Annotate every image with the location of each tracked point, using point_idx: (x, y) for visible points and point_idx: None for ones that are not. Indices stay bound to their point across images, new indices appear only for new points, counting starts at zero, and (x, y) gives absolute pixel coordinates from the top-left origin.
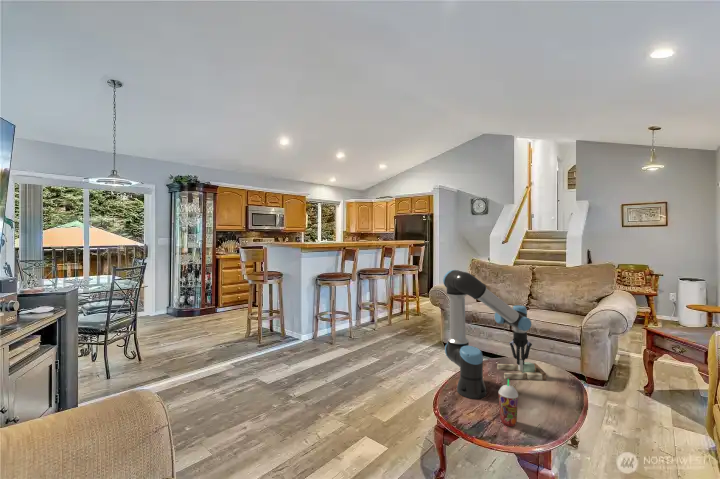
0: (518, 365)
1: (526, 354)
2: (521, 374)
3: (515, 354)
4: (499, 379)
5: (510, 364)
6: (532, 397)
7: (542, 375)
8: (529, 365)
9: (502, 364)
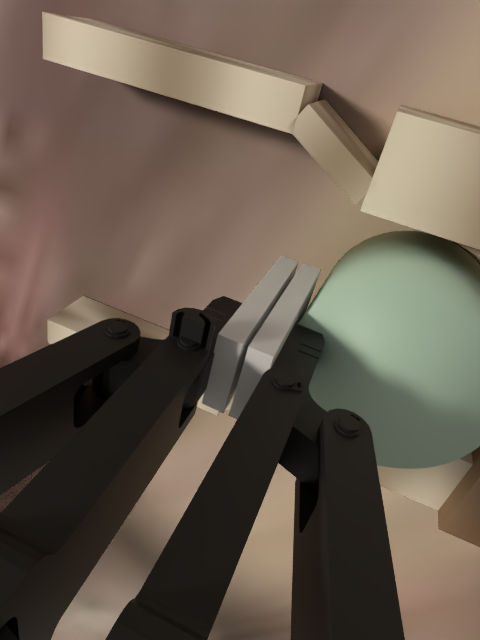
0: (262, 282)
1: (295, 555)
2: (207, 408)
3: (65, 440)
4: (35, 311)
5: (242, 79)
6: (151, 566)
7: (439, 505)
8: (369, 425)
9: (110, 57)
